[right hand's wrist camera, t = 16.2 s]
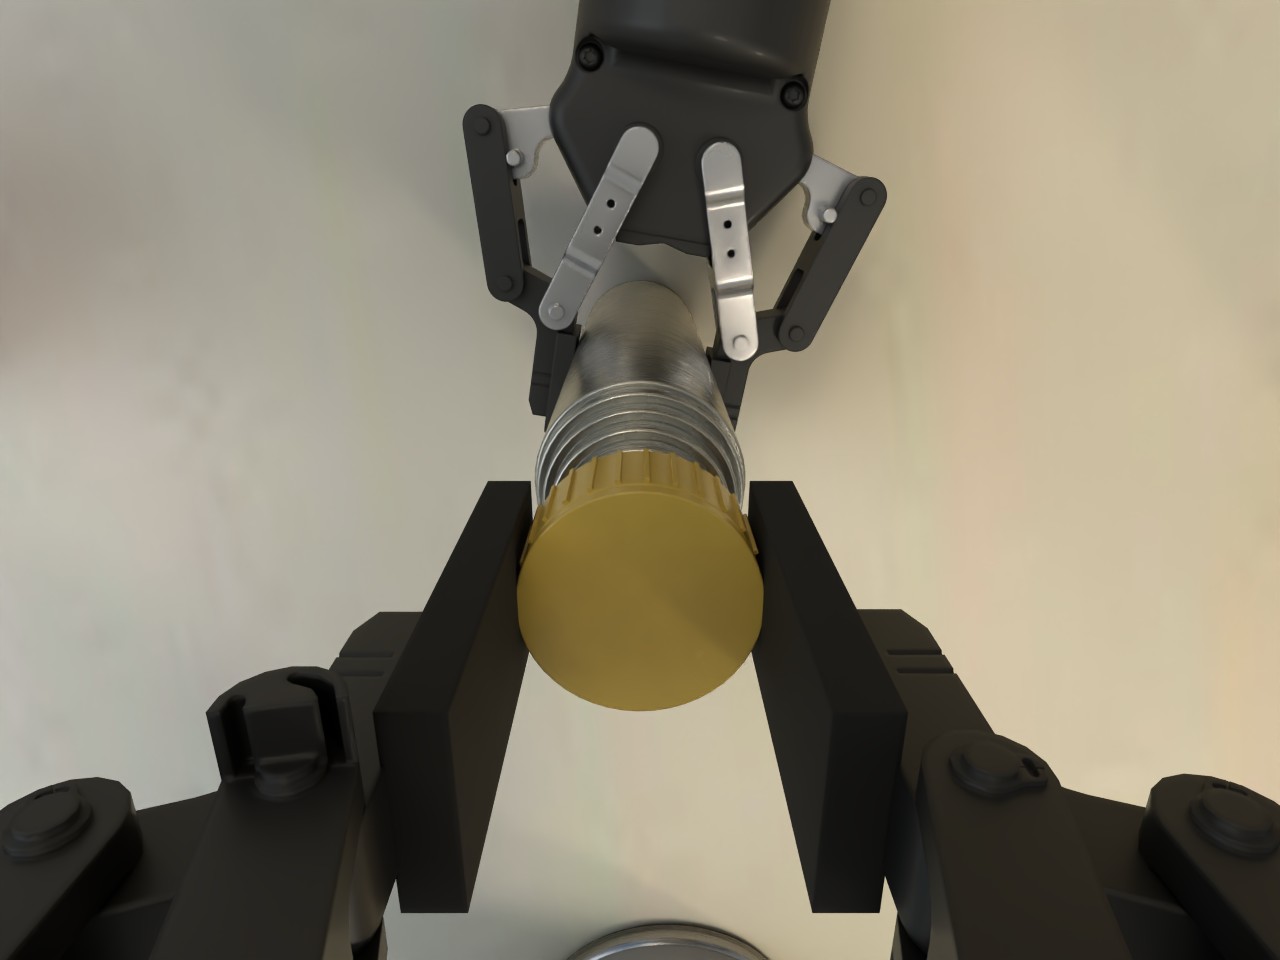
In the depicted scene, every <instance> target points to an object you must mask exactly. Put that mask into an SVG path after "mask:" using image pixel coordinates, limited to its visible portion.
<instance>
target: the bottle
mask: <svg viewBox="0 0 1280 960" xmlns="http://www.w3.org/2000/svg"><path fill="white" fill-rule="evenodd" d="M644 448H648V449H649V451H652V452H653V451H654V452H660V453H665V454H670V452H672V453H675V456H677V457H680V458H682V459H685V460H688V461H690V462H692V463H694V462H695V461H696V462H698V463H699V465H700V467H701V468H703V469H704V470H706V471H707V472H709V473H710V474H711V475H713V476H714V477H715V476H716V475H717V476H718V477H720V480H721V483H722V484H723V485H724V487H725V488H726V489H727V490H728V491H729V492H730V494H733V493H734V494H735V495H736V497H737V500H738V504H739V507H740V510H742V505H743V498H744V490H745V466H744V459H743V455H742V452H741V449H740V445H739V443H738V440H737V437H736V435H735V432H734V429H733V427H732V424H731V421H730V418H729V416H728V413H727V410H726V408H725V405H724V402H723V400H722V397H721V394H720V392H719V389H718V386H717V383H716V381H715V378H714V375H713V373H712V370H711V367H710V365H709V362H708V359H707V357H706V354H705V351H704V349H703V346H702V343H701V340H700V338H699V335H698V332H697V330H696V327H695V324H694V322H693V319H692V316H691V314H690V312H689V310H688V308H687V307H686V305H685V303H684V302H683V301H682V300H681V299H680V298H679V297H678V296H677V295H676V294H675V293H674V292H672V291H671V290H670V289H668V288H666V287H664V286H662V285H660V284H657V283H653V282H649V281H632V282H627V283H624V284H621V285H618V286H616V287H614V288H612V289H611V290H609V291H608V292H606V293H605V294H604V295H603V296H602V297H601V298H600V299H599V300H598V301H597V302H596V304H595V305H594V307H593V308H592V310H591V312H590V315H589V317H588V320H587V322H586V325H585V328H584V331H583V333H582V336H581V339H580V341H579V344H578V347H577V349H576V352H575V355H574V357H573V360H572V363H571V366H570V368H569V371H568V374H567V376H566V379H565V382H564V384H563V387H562V390H561V393H560V395H559V398H558V401H557V403H556V406H555V409H554V411H553V414H552V417H551V419H550V422H549V425H548V428H547V430H546V433H545V436H544V438H543V441H542V444H541V447H540V450H539V453H538V456H537V462H536V468H535V487H536V495H537V504H538V505H539V504H541V505H543V503H544V501H545V500H546V499H547V497H548V496H549V493H550V490H551V487H552V486H553V485H554V484H555V485H556V486H557V485H558V484H559V483H560V482H561V481H562V480H563V479H564V478H565V477H567V476H568V475H569V471H570V470H571V469H572V468H574V469H575V470H576V469H578V468H579V467H581V466H583V465H584V464H586V463H589V462H591V461H592V458H593V457H596V456H597V458H601V457H604V456H607V455H610V454H615V453H617V451H618V450H622V451H623V452H626V451H644Z"/></svg>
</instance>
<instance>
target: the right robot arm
mask: <svg viewBox="0 0 1280 960" xmlns="http://www.w3.org/2000/svg"><path fill="white" fill-rule="evenodd" d="M748 520H749V524H750V527H751V530H752V533H753V536H754V539H755V542H756V546H757V549H758V552H759V553H758V554H755V555H756V558H757V562H758V565H759V568H760V572H761V575H762V578H763V584H764V596H763V612H762V626H761V630H760V633H759V636H758V639H757V641H756V643H755V645H754V647H753V649H752V651H751V652H752V656H753V661H754V665H755V669H756V673H757V678H758V682H759V686H760V690H761V695H762V699H763V703H764V708H765V712H766V716H767V720H768V725H769V729H770V733H771V738H772V742H773V746H774V750H775V755H776V759H777V763H778V767H779V772H780V776H781V780H782V785H783V789H784V793H785V797H786V802H787V806H788V810H789V814H790V819H791V823H792V827H793V832H794V836H795V840H796V844H797V849H798V853H799V857H800V862H801V866H802V870H803V874H804V879H805V883H806V887H807V891H808V896H809V900H810V904H811V909H812V913H880V906H881V899H882V892H883V885H884V878H885V877H886V880H887V883H888V885H889V888H890V891H891V894H892V897H893V900H894V903H895V905H896V908H897V911H898V913H897V919H896V926H895V932H894V939H893V945H892V952H891V958H890V960H1280V805H1278V804H1277V803H1276V802H1274V801H1272V800H1270V799H1268V798H1266V797H1264V796H1262V795H1260V794H1258V793H1256V792H1254V791H1252V790H1250V789H1248V788H1246V787H1244V786H1242V785H1238V784H1236V783H1233V782H1228V781H1226V780H1222V779H1219V778H1215V777H1212V776H1202V775H1192V774H1180V775H1175V776H1170V777H1165V778H1162V779H1161V780H1160V781H1159V782H1158V783H1157V784H1156V785H1155V786H1154V787H1153V788H1152V789H1151V791H1150V795H1149V798H1148V802H1147V806H1146V808H1145V807H1141V806H1136V805H1132V804H1127V803H1123V802H1118V801H1114V800H1109V799H1104V798H1100V797H1095V796H1091V795H1087V794H1083V793H1080V792H1076V791H1073V790H1070V789H1066V788H1064V787H1061V785H1060V782H1059V780H1058V778H1057V777H1056V776H1055V774H1054V773H1053V771H1052V770H1051V768H1050V767H1049V765H1048V764H1047V763H1046V762H1045V761H1044V760H1043V759H1041V758H1040V757H1039V756H1037V755H1036V754H1035V753H1034V752H1032V751H1031V750H1030V749H1028V748H1027V747H1025V746H1023V745H1021V744H1019V743H1017V742H1014V741H1012V740H1010V739H1008V738H1006V737H1004V736H1001V735H997V734H995V733H994V732H993V730H992V729H991V727H990V725H989V724H988V722H987V721H986V719H985V718H984V716H983V714H982V713H981V711H980V710H979V708H978V707H977V705H976V703H975V702H974V700H973V699H972V697H971V696H970V694H969V693H968V691H967V689H966V688H965V686H964V685H963V683H962V682H961V680H960V678H959V677H958V675H957V674H954V672H953V667H952V666H951V664H950V663H949V661H948V660H947V658H946V656H945V655H942V650H941V649H940V647H939V645H938V644H937V642H936V641H935V639H934V638H933V636H932V634H931V633H930V631H929V630H928V628H926V627H925V626H924V625H922V624H921V623H919V622H918V621H917V620H915V619H914V618H913V617H911V616H910V615H908V614H907V613H906V612H904V611H903V610H901V609H856V607H855V605H854V603H853V601H852V599H851V597H850V595H849V593H848V591H847V589H846V587H845V585H844V583H843V581H842V579H841V577H840V575H839V573H838V571H837V569H836V567H835V565H834V563H833V561H832V559H831V557H830V555H829V553H828V551H827V549H826V547H825V545H824V543H823V541H822V539H821V537H820V535H819V533H818V531H817V529H816V527H815V525H814V523H813V521H812V519H811V517H810V515H809V513H808V511H807V509H806V507H805V505H804V503H803V501H802V499H801V497H800V495H799V493H798V491H797V489H796V487H795V485H794V483H793V481H750V488H749V508H748ZM532 523H533V517H532V497H531V481H488V482H487V484H486V486H485V488H484V490H483V492H482V494H481V496H480V498H479V500H478V502H477V504H476V506H475V508H474V510H473V512H472V514H471V516H470V518H469V520H468V522H467V524H466V526H465V528H464V530H463V532H462V534H461V536H460V538H459V540H458V542H457V544H456V546H455V548H454V550H453V552H452V554H451V556H450V558H449V560H448V562H447V564H446V566H445V568H444V570H443V572H442V574H441V576H440V578H439V580H438V582H437V584H436V586H435V588H434V590H433V592H432V594H431V596H430V598H429V600H428V602H427V604H426V606H425V608H424V610H423V612H379V613H377V614H376V615H375V616H373V617H372V618H371V619H369V620H368V621H366V622H365V623H364V624H362V625H361V626H359V627H358V628H357V629H355V630H354V631H353V632H352V634H351V635H350V637H349V639H348V640H347V642H346V643H345V645H344V646H343V648H342V650H341V651H340V653H339V657H337V658H336V659H335V661H334V662H333V664H332V665H331V667H330V669H329V670H327V669H324V668H320V667H316V666H292V667H287V668H282V669H277V670H272V671H267V672H264V673H262V674H259V675H257V676H254V677H252V678H249V679H247V680H244V681H242V682H239V683H238V684H237V685H235V686H234V687H232V688H231V689H229V690H228V691H226V692H225V693H223V694H222V695H220V696H219V697H218V698H217V699H216V700H215V702H214V703H213V704H212V705H211V707H210V708H209V709H208V710H207V712H206V716H207V720H208V724H209V729H210V733H211V737H212V741H213V746H214V750H215V754H216V759H217V763H218V767H219V772H220V776H221V780H222V781H221V784H220V786H219V788H218V791H216V792H212V793H209V794H206V795H202V796H199V797H195V798H191V799H187V800H182V801H178V802H173V803H169V804H164V805H160V806H155V807H151V808H146V809H142V810H138V811H136V810H135V807H134V803H133V800H132V796H131V793H130V791H129V790H127V789H126V788H125V787H124V786H123V785H122V784H121V783H120V782H119V781H115V780H110V779H105V778H100V777H94V778H83V779H73V780H68V781H65V782H61V783H57V784H55V785H50V786H48V787H45V788H42V789H39V790H37V791H35V792H33V793H31V794H29V795H27V796H25V797H23V798H21V799H19V800H17V801H15V802H13V803H11V804H9V805H7V806H6V807H4V808H3V809H2V810H0V960H386V959H387V950H388V948H387V940H386V932H385V926H384V919H383V914H384V911H385V908H386V905H387V903H388V900H389V897H390V894H391V891H392V888H393V885H394V882H395V880H396V882H397V889H398V896H399V903H400V910H401V913H468V911H469V907H470V902H471V898H472V894H473V889H474V885H475V881H476V877H477V872H478V868H479V864H480V860H481V855H482V851H483V847H484V842H485V838H486V834H487V830H488V825H489V821H490V817H491V812H492V808H493V804H494V800H495V795H496V791H497V787H498V783H499V778H500V774H501V770H502V765H503V761H504V757H505V753H506V748H507V744H508V740H509V735H510V731H511V727H512V723H513V718H514V714H515V710H516V706H517V701H518V697H519V693H520V688H521V684H522V680H523V676H524V671H525V667H526V663H527V658H528V654H529V650H528V648H527V647H526V644H525V642H524V640H523V637H522V635H521V632H520V629H519V619H518V604H517V581H518V576H519V572H520V569H521V567H520V559H521V556H522V553H523V550H524V546H525V543H526V540H527V537H528V534H529V530H530V527H531V526H532ZM567 960H767V959H766V958H765V957H764V956H762V955H761V954H760V953H758V952H757V951H756V950H754V949H753V948H751V947H750V946H748V945H746V944H745V943H743V942H741V941H739V940H737V939H735V938H732V937H730V936H727V935H725V934H722V933H719V932H715V931H712V930H708V929H703V928H699V927H692V926H683V925H652V926H643V927H636V928H631V929H627V930H622V931H619V932H616V933H613V934H610V935H607V936H605V937H602V938H600V939H597V940H595V941H593V942H591V943H589V944H588V945H586V946H584V947H583V948H581V949H580V950H578V951H577V952H575V953H574V954H573V955H571V956H570V957H569V958H568V959H567Z"/></svg>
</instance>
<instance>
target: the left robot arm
mask: <svg viewBox="0 0 1280 960" xmlns="http://www.w3.org/2000/svg"><path fill="white" fill-rule="evenodd" d="M829 5H830V0H579V8H578V16H577V24H576V32H575V40H574V49H573V56H572V60H571V64H570V67H569V70H568V73H567V75H566V77H565V79H564V81H563V82H562V84H561V85H560V87H559V88H558V89H557V91H556V92H555V94H554V96H553V98H552V100H551V103H550V105H546V106H536V107H526V108H516V109H506V110H496V109H494V108H492V107H490V106H487V105H483V104H478V105H474V106H472V107H471V108H469V109H468V110H467V112H466V113H465V115H464V118H463V132H464V138H465V145H466V151H467V158H468V164H469V170H470V177H471V183H472V190H473V196H474V203H475V209H476V216H477V222H478V228H479V235H480V241H481V248H482V254H483V261H484V267H485V274H486V280H487V286H488V289H489V291H490V293H491V294H492V295H493V296H494V297H495V298H496V299H498V300H500V301H504V302H509V303H511V304H513V305H515V306H517V307H518V308H520V309H522V310H524V311H525V312H527V313H528V314H529V315H530V316H531V317H532V318H533V320H534V322H535V324H536V327H537V339H536V347H535V355H534V363H533V371H532V379H531V387H530V395H529V402H530V406H531V410H532V413H533V415H539V416H545V417H546V420H545V428H544V432H545V433H546V430H547V428H548V425H549V422H550V419H551V417H552V414H553V411H554V409H555V406H556V403H557V401H558V398H559V395H560V393H561V390H562V387H563V384H564V382H565V379H566V376H567V374H568V371H569V368H570V366H571V363H572V360H573V357H574V355H575V352H576V349H577V347H578V344H579V339H580V333H581V326H582V325H579V324H576V321H577V314H578V309H579V307H580V306H581V304H582V302H583V300H584V298H585V296H586V294H587V292H588V290H589V288H590V286H591V284H592V282H593V280H594V278H595V276H596V274H597V272H598V271H599V269H600V267H601V265H602V263H603V261H604V259H605V257H606V255H607V253H608V251H609V249H610V247H611V245H612V243H613V241H614V239H616V241H617V242H623V243H628V244H634V245H647V244H658V243H665V244H667V245H669V246H671V247H673V248H675V249H678V250H680V251H682V252H684V253H686V254H691V255H696V256H702V257H706V263H707V270H708V277H709V282H710V287H711V294H712V301H713V309H714V317H715V324H716V335H715V340H714V345H713V348H712V347H707V349H706V357H707V359H708V362H709V365H710V367H711V370H712V373H713V375H714V378H715V381H716V383H717V386H718V389H719V392H720V394H721V397H722V400H723V402H724V405H725V408H726V410H727V413H728V416H729V418H730V421H731V424H732V427H733V429H734V432H735V429H736V425H737V420H738V416H739V411H740V406H741V402H742V397H743V393H744V388H745V384H746V379H747V375H748V370H749V367H750V365H751V364H752V362H753V361H754V360H755V359H756V358H757V357H758V356H760V355H762V354H765V353H769V352H774V351H780V350H785V349H787V350H789V351H793V352H798V351H802V350H804V349H806V348H807V347H808V346H809V345H810V344H811V342H812V341H813V339H814V337H815V335H816V333H817V331H818V329H819V327H820V325H821V324H822V322H823V320H824V318H825V316H826V314H827V312H828V310H829V309H830V307H831V305H832V303H833V301H834V299H835V297H836V295H837V294H838V292H839V290H840V288H841V286H842V284H843V282H844V280H845V279H846V277H847V275H848V273H849V271H850V269H851V267H852V265H853V263H854V262H855V260H856V258H857V256H858V254H859V252H860V250H861V248H862V247H863V245H864V243H865V241H866V239H867V237H868V235H869V233H870V232H871V230H872V228H873V226H874V224H875V222H876V220H877V218H878V216H879V215H880V213H881V211H882V209H883V207H884V205H885V203H886V199H887V192H886V188H885V186H884V184H883V183H882V182H881V181H880V180H878V179H876V178H873V177H867V176H855V175H853V174H851V173H849V172H848V171H846V170H844V169H842V168H840V167H838V166H836V165H834V164H832V163H830V162H828V161H826V160H824V159H822V158H820V157H818V156H816V155H814V154H813V142H812V138H811V134H810V130H809V126H808V101H809V96H810V91H811V86H812V82H813V77H814V73H815V68H816V64H817V59H818V55H819V50H820V46H821V41H822V37H823V32H824V27H825V23H826V18H827V14H828V9H829ZM551 138H554V139H555V141H556V143H557V145H558V147H559V149H560V152H561V154H562V156H563V158H564V160H565V162H566V164H567V166H568V168H569V170H570V172H571V174H572V176H573V178H574V180H575V182H576V184H577V186H578V188H579V190H580V192H581V194H582V196H583V198H584V201H585V203H586V205H587V209H586V211H585V213H584V215H583V217H582V219H581V221H580V223H579V225H578V227H577V229H576V231H575V233H574V235H573V237H572V239H571V241H570V243H569V245H568V247H567V249H566V251H565V254H564V256H563V259H562V261H561V263H560V265H559V267H558V269H557V271H556V273H555V275H554V277H553V279H552V278H550V277H549V276H547V275H545V274H543V273H542V272H540V271H538V270H536V269H535V268H533V267H532V265H531V258H530V250H529V243H528V235H527V228H526V220H525V213H524V206H523V198H522V191H521V183H520V179H523V178H527V177H529V176H531V175H532V174H533V173H534V172H535V170H536V169H537V166H538V154H539V150H540V148H541V146H542V145H543V144H544V143H545V142H546V141H547V140H549V139H551ZM797 184H799V185H800V186H801V187H802V188H803V190H804V193H805V205H804V208H803V211H802V219H803V222H804V224H805V226H806V227H807V228H808V229H810V230H811V231H812V233H811V235H810V237H809V239H808V241H807V242H806V244H805V246H804V248H803V250H802V252H801V254H800V256H799V258H798V260H797V262H796V264H795V266H794V268H793V270H792V272H791V274H790V276H789V278H788V280H787V282H786V284H785V286H784V288H783V290H782V292H781V294H780V296H779V298H778V300H777V302H776V304H775V306H774V308H773V309H770V310H765V311H759V312H755V306H754V297H753V272H752V263H751V254H750V245H749V236H748V232H749V231H750V230H751V229H752V228H753V227H754V226H755V225H756V224H757V223H758V222H759V221H760V220H761V219H762V218H763V217H764V216H765V215H766V214H767V213H768V212H769V211H770V210H771V209H772V208H773V207H774V206H775V205H776V204H777V203H779V202H780V201H781V200H782V199H783V198H784V197H785V196H786V195H787V194H788V193H789V192H790V191H791V190H792V189H793V188H794V187H795V186H796V185H797Z"/></svg>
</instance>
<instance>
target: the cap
mask: <svg viewBox="0 0 1280 960" xmlns="http://www.w3.org/2000/svg"><path fill="white" fill-rule="evenodd" d="M758 553H759V552H758V549H757V546H756V542H755V539H754V536H753V533H752V530H751V527H750V524H749V520H748V517H747V515H746V514H744V515H743V514H742V512H741V510H740V507H739V504H738V500H737V497H736V495H735V494H734V493H733V494H730V492H729V491H728V490H727V489H726V488H725V487H724V485H723V484H722V483H721V480H720V477H718V476H717V475H716V476H715V477H714V476H713V475H711V474H710V473H709V472H707V471H706V470H704V469H703V468H701V467H700V465H699V463H698V462H696V461H695V462H694V463H692V462H690V461H688V460H685V459H682V458H680V457H677V456H675V453H672V452H670V454H665V453H660V452H654V451H653V452H652V451H649V449H648V448H644V451H626V452H623V451H622V450H618V451H617V453H615V454H610V455H607V456H604V457H601V458H597V456H596V457H593V458H592V461H591V462H589V463H586V464H584V465H583V466H581V467H579V468H578V469H576V470H575V469H574V468H572V469H571V470H570V471H569V475H568V476H567V477H565V478H564V479H563V480H562V481H561V482H560V483H559V484H558V485H557V486H556V485H555V484H554V485H553V486H552V487H551V490H550V493H549V496H548V497H547V499H546V500H545V501H544V503H543V505H541V504H539V505H538V507H537V510H536V513H535V517H534V520H533V523H532V526H531V527H530V530H529V534H528V537H527V540H526V543H525V546H524V550H523V553H522V556H521V559H520V567H521V569H520V572H519V576H518V581H517V604H518V619H519V629H520V632H521V635H522V637H523V640H524V642H525V644H526V647H527V648H528V650H529V651H530V653H531V655H532V656H533V658H534V660H535V661H536V662H537V663H538V665H539V666H540V667H541V668H542V669H543V671H544V672H545V673H546V674H547V675H548V676H550V677H551V678H552V679H553V680H554V681H555V682H556V683H558V684H559V685H560V686H562V687H563V688H564V689H566V690H567V691H569V692H571V693H573V694H574V695H576V696H578V697H580V698H582V699H585V700H587V701H589V702H592V703H594V704H598V705H601V706H605V707H608V708H614V709H619V710H628V711H654V710H661V709H667V708H672V707H676V706H679V705H683V704H686V703H688V702H691V701H693V700H696V699H698V698H700V697H702V696H704V695H706V694H708V693H710V692H711V691H713V690H714V689H716V688H717V687H719V686H720V685H722V684H723V683H724V682H725V681H726V680H728V679H729V678H730V677H731V676H732V675H733V674H734V673H735V672H736V671H737V670H738V669H739V667H740V666H741V665H742V664H743V663H744V661H745V660H746V658H747V657H748V655H749V654H750V652H751V651H752V649H753V647H754V645H755V643H756V641H757V639H758V636H759V633H760V630H761V626H762V612H763V596H764V584H763V578H762V575H761V572H760V568H759V565H758V562H757V558H756V555H755V554H758Z"/></svg>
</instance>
